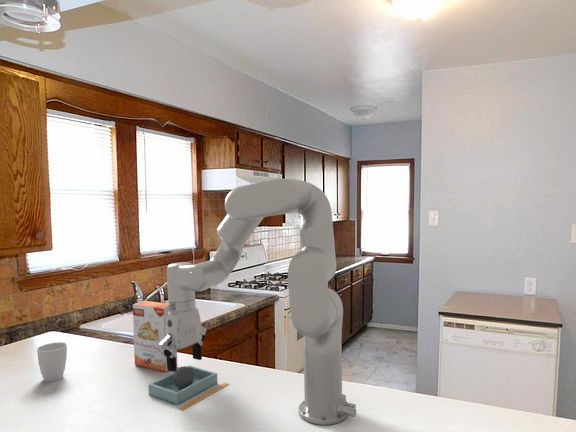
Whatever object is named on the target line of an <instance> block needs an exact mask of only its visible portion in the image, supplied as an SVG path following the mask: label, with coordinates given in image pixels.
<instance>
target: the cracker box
mask: <svg viewBox="0 0 576 432" xmlns="http://www.w3.org/2000/svg"><path fill="white" fill-rule="evenodd" d="M167 306H169V304H168V303H165V302H157V301H149V300H143V301H138V302H134V304H133V303H132V318H133V319H132V322H133V348H134V349H133V352H134V356H133V357H134V366H139V367H142V368H147V369H151V370H155V371H159V372H163V373H166V372H170V371H169V370H168V369H167V357H165V356H164V355H163V354H162V353H161V351H160V349H159V347H158V345H159V343H160V342H161V341H162V340H163V339H164V338H165V337H166V321H167V314H168V313H169V311H168V310H167V309H166V307H167ZM167 348H168V347H167V345H166V349H167ZM170 352H172V349H171V351H170ZM174 357H176V366H177V367H178V350H177V351H176V353H175V355H174Z"/></svg>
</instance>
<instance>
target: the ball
mask: <svg viewBox="0 0 576 432" xmlns="http://www.w3.org/2000/svg"><path fill="white" fill-rule="evenodd" d="M173 373H174V372H173ZM173 381H174V384H175V385H176V386H177V387H179V388H186V387H188V386H190V385H191V384H192V383H193V381H194V372H193V370H192V369H191V368H189V367H188V366H187V365H185V366H180V367H178V368H177V370H176V371H175V373H174V375H173Z"/></svg>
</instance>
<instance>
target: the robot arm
mask: <svg viewBox="0 0 576 432" xmlns="http://www.w3.org/2000/svg"><path fill="white" fill-rule="evenodd" d="M224 209H225V211H226V216H225V217H224V219H223V220H222V221H221V222H220V224H219V226H218V227H217V231H216V234H217V236H218V238H219V239H220V240H221V242H220V245H219V247H218V248H217V250H216V251H215V253H214V255H213V256H212V257H211V259H210V260H206V261H205V260H204V261H202V262H199V263H195V264H192V263H191V262H187V261H181V262H180V261H179V262H174V263H170V264H168V265H167V268H166V281H167V297H168V300H167V301H168V303H167V304H169V306H167V307H166V309H167V310H168V311H169V313H168V314H167V321H166V337H165V338H164V339H163V340H162V341H161V342H160V343H159V345H158V347H159V349H160V351H161V353H162V354H163V355H164V356H165V357H167V369H168V370H169V371H168V372H172V373H174V372H175V371H176V370H177V369H178V368H177V367H178V365H177V366H176V357H174V355H175V353H176V351H177V352H178V350H182V349H186V348H189V347H190V346H192V347H191V348H192V359H194V360H197V361H201V360H203V359H202V358H203V357H202V356H203V355H202V346H203V345H204V340H205V338H206V334H207V333H206V332H207V327H204V326H202V321H201V315H200V311H199V309H198V307H196V292H202V291H206V290H208V289H210V288H212V287H216V286H218V285H220V284H222V283H223V282H224V281H226V279H227V278H228V276H230V274H231V273H232V272H233V270H234V269H235V267H236V266H237V264H238V263H239V261H240V260H241V257H242V253H243V251H244V250H243V249H244V246H245V245H246V243H247V241H248V240H249V238H251V236H252V235H253V234H254V232H255V230H256V229H257V227H258V226H259V225H260V224H261V222H262V220H263V219H264V218H266V217H273V216H279V215H286V214H294V213H296V214H298V215H299V217H300V221H299V222H300V223H299V239H300V240H299V241H300V250H299V252H296V254H294V256H293V257H292V258H291V260H290V262H289V265H288V268H287V283H288V284H287V285H288V286H287V287H288V299H289V300H288V301H289V311H290V312H289V313H290V319H291V322H292V325H293V327H294V329H295V330H296V331H297V332H298V334H300V335H301V336H303V372H304V373H303V379H304V380H303V381H304V382H303V383H304V386H303V388H304V390H303V391H304V400H303V401H302V402H300V404H299V406H298V414H299V416H300V417H301V418H302V419H303V420H304V421H306V422H308V423H311V424H314V425H315V424H316V425H322V426H327V425H334V424H338V423H340V422H343V421H344V420H346V419H347V417H348V416H349V417H352V418H355V417H356V416H357V409H356V407H357V404H355V403H352V402H351V403H350V402H348V401H347V395H346V394H343V369H342V367H343V366H342V360H343V359H342V357H343V356H342V352H343V351H342V334H343V333H342V330H343V320H344V319H343V316H344V307H343V302H342V300H341V297H340V296H339V294H338V293H337V292H336V291H335V290H333V289H331V288H329V283H328V282H329V281H330V280H332V279H333V278H334V276H335V274H336V272H337V258H336V246H335V235H334V226H333V225H334V224H333V211H332V207H331V203H330V201H329V199H328V196H327V195H326V194H325V193H324V191H323V190H322V189H321V188H319V187H318V186H317V185H315V184H312V183H310V182H308V181H305V180H301V179H295V178H294V179H293V178H276V179H270V180H265V181H260V182H257V183H252V184H247V185H246V184H245V185H241V186H236V187H235V188H233V189H232V190H231V191H230V192H228V194H227V195H226V197H225V200H224ZM166 345H167V347H168V348H167V349H166ZM171 349H172V352H170V351H171Z"/></svg>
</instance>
